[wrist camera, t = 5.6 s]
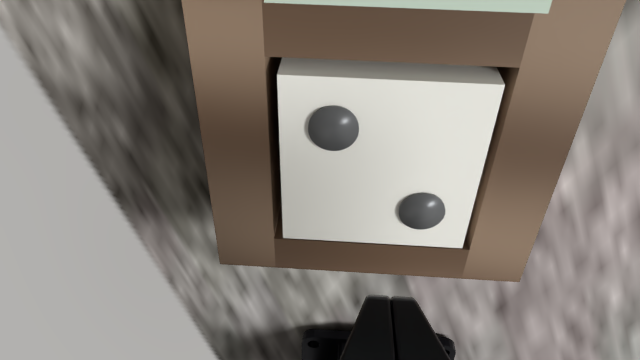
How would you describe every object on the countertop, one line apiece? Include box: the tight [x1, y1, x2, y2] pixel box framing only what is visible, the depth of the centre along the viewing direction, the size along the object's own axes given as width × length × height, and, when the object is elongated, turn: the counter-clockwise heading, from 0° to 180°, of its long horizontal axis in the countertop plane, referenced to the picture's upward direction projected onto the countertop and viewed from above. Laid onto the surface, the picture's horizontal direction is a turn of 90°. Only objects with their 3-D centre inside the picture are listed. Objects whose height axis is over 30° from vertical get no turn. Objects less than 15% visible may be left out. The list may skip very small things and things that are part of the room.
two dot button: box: [277, 57, 505, 248], centre depth 14 cm, size 5×5×3 cm
